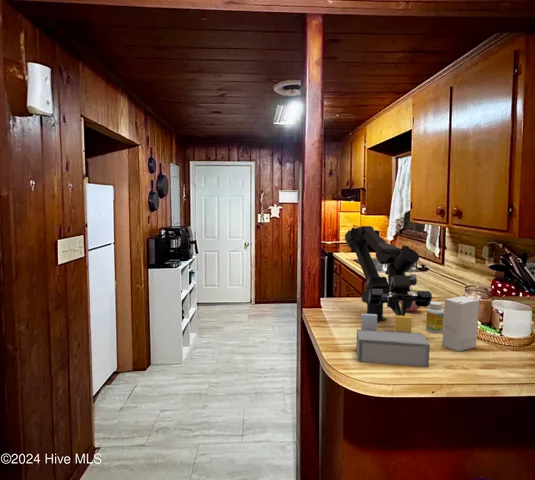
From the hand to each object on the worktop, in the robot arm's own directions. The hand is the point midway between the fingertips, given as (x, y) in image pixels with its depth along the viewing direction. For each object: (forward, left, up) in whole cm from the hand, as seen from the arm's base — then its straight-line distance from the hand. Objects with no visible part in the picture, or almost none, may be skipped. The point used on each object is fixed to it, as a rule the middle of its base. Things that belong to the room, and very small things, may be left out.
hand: (402, 321), depth 118 cm
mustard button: (+6, -2, -6) cm, 9 cm away
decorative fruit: (-32, +23, -7) cm, 40 cm away
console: (+10, -9, -7) cm, 15 cm away
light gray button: (+3, -12, -6) cm, 13 cm away
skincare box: (+6, +16, -7) cm, 18 cm away
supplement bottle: (-9, +18, -7) cm, 21 cm away
